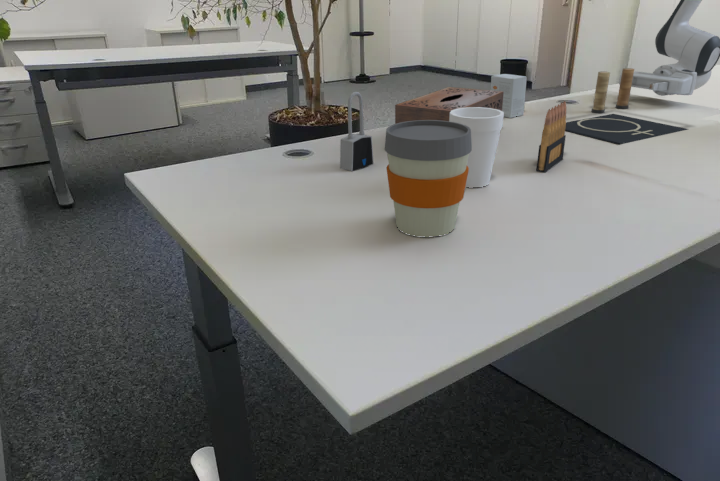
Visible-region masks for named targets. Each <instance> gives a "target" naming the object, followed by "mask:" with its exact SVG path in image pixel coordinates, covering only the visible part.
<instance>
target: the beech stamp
mask: <svg viewBox="0 0 720 481" xmlns="http://www.w3.org/2000/svg"><path fill="white" fill-rule="evenodd" d="M634 72H635V68H632V67H625V68H622V72H621V73H622V76H621V82H620V85H619V89H618V94H617V99H616V100H617V101H616V104H615V109H618V110H626V109H629V102H630V97H631V96H630V95H631V92H632V91H631V90H632V87H631V86H632V80H633V74H634Z"/></svg>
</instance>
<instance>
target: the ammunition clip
mask: <svg viewBox="0 0 720 481" xmlns="http://www.w3.org/2000/svg"><path fill="white" fill-rule="evenodd" d="M566 122H567V102H566V101H565V100H563V102H560V103H558V104H557V105H555V106H554V107H551V108H549V109H548V110H547V112H546V114H545V118H544V124H543V129H542V132H541V141H540V144H539V145H538V153H537V161H536V168H535V169H536V170H535V171H536V172H541V173H547V172H548V171H549V170H551V169H552V168H553V167H555V166H556V165H558V163H560V162H561V161H562V160H564V152H565V144H566V135H565V134H566V131H565V127H566Z"/></svg>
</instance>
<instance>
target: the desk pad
mask: <svg viewBox="0 0 720 481" xmlns="http://www.w3.org/2000/svg"><path fill="white" fill-rule="evenodd" d="M688 130H689V128H685V127H682V126H681V127H680V126H676V125H671V124H667V123H660V122H657V121H651V120H646V119H641V118H637V117H632V116H626V115H621V114H618V113H610V114H604V115H599V116H592V117H588V118H582V119H576V120H571V121H566V127H565V132H568V133H571V134H575V135H579V136H583V137H588V138H591V139H595V140H599V141H603V142H608V143H611V144H615V145H619V146H620V145H625V144H629V143H634V142H638V141H642V140H647V139H652V138H656V137H661V136H665V135H670V134H674V133H678V132H683V131H688Z"/></svg>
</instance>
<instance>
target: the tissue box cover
mask: <svg viewBox="0 0 720 481" xmlns="http://www.w3.org/2000/svg"><path fill="white" fill-rule="evenodd" d="M503 94H504V92H503V91H491V89H480V88H479V89H477V88H466V87H452V86H447V87H445V88H442V89H439V90H437V91H432V92H429V93H427V94H424V95H421V96H417V97H413V98H412V99H409V100H406V101H403V102H399V103H397V104H395V105H394V124H397V123H401V122H406V121H416V120H440V121H449V116H450V112H451V110H454V109H458V108H466V107H483V108H492V109H497V110H500V111H502V106H503Z"/></svg>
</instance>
